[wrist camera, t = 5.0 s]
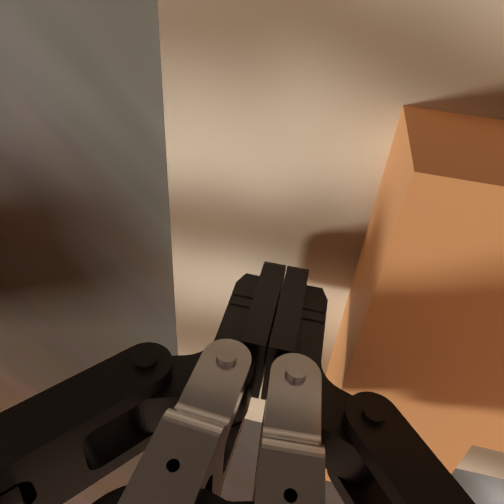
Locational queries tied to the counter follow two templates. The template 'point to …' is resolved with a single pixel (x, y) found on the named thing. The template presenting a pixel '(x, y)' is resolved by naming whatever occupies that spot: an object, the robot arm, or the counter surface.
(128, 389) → the robot arm
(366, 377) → the t block
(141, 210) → the counter surface
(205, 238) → the push board
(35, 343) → the counter surface
